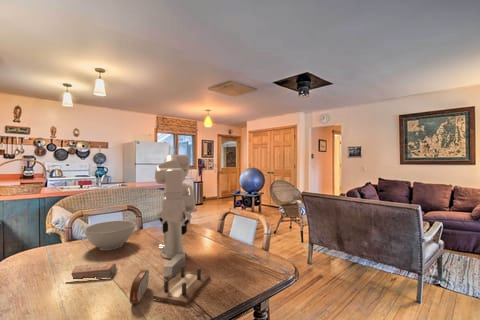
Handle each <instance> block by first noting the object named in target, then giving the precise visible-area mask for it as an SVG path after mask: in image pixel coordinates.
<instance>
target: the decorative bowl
mask: <svg viewBox="0 0 480 320" xmlns="http://www.w3.org/2000/svg"><path fill="white" fill-rule="evenodd" d="M135 228H136V222H135V221H132V220H125V219H124V220H110V221H103V222H102V221H101V222H98V223H94V224H91V225H89V226H87V227H85V228H84V230H83V232H84V235H85V237H86V239H87V240H88V242H89V243H91V244H92V245H93V246H95V247H97V248H98V249H99V250H100V249H102V250H101V251H112V250H111V249H114V250H117V249H119V247H120V248H122V247H123V246H122V245H124V244H125V243H126V242H127V241H128V240H129V239H130V238H131V237H132V235H133V233H134V232H135ZM116 248H117V249H116Z"/></svg>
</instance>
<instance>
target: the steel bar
mask: <svg viewBox="0 0 480 320" xmlns="http://www.w3.org/2000/svg"><path fill="white" fill-rule="evenodd" d="M185 265H186V253H185V254H177V255H176V256H175V257H173V258H172V259H169V261H167V262H166V263H165V264H164V265H163V266H162V267H163V268H162V269H163V270H162V271H163V278H167V277H169V279H173V278H174V277H175V276H176V275H177V274H178V273H179V272H180V271H181V267H182V266H184V267H185Z"/></svg>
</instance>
